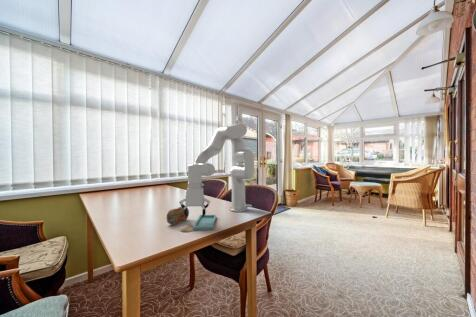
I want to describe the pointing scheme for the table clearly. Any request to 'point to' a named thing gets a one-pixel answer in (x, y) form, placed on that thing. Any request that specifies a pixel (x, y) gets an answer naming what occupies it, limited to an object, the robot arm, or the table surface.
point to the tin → (176, 216)
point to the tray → (205, 222)
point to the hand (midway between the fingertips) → (194, 216)
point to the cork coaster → (186, 229)
